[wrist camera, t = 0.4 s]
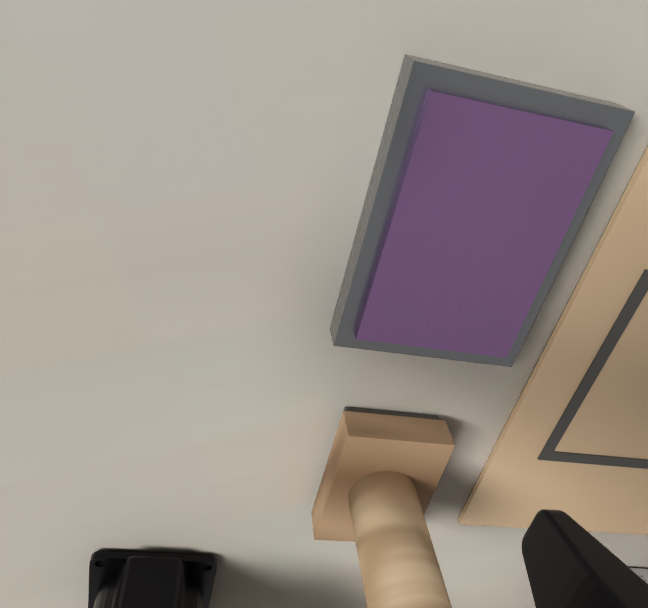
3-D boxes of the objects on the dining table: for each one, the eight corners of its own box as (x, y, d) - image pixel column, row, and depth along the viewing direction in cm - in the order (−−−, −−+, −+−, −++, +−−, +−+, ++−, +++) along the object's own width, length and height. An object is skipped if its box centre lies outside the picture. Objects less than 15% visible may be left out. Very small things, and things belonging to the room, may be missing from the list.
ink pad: (501, 350, 26) (515, 372, 25) (329, 329, 24) (334, 351, 23) (616, 103, 21) (641, 114, 19) (405, 54, 19) (416, 62, 18)
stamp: (400, 508, 31) (443, 668, 24) (310, 502, 30) (328, 668, 23) (441, 411, 28) (505, 566, 21) (341, 402, 27) (373, 561, 20)
